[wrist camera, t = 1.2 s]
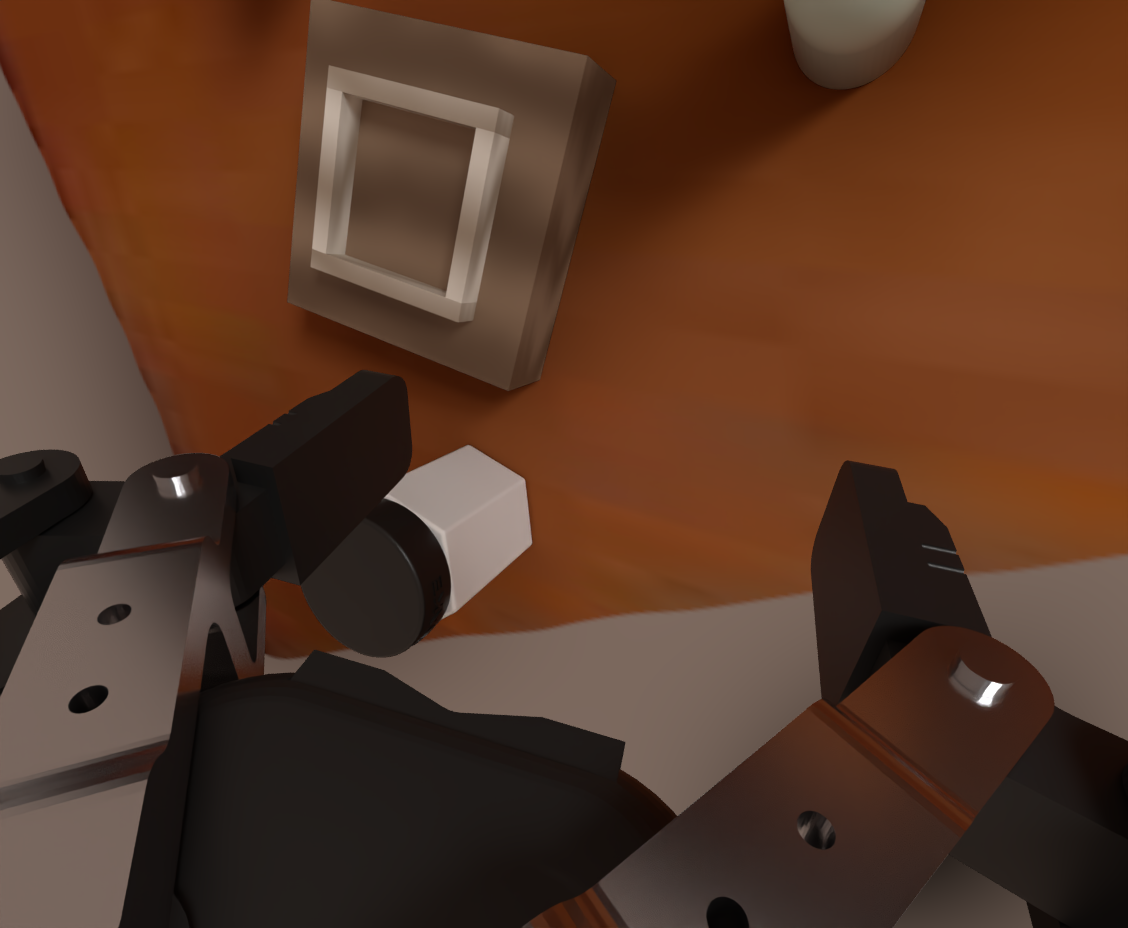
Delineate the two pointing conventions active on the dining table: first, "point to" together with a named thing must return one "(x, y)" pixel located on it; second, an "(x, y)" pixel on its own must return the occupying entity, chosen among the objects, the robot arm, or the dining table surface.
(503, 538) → the jar
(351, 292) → the display plinth
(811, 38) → the sage cylinder
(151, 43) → the dining table surface
